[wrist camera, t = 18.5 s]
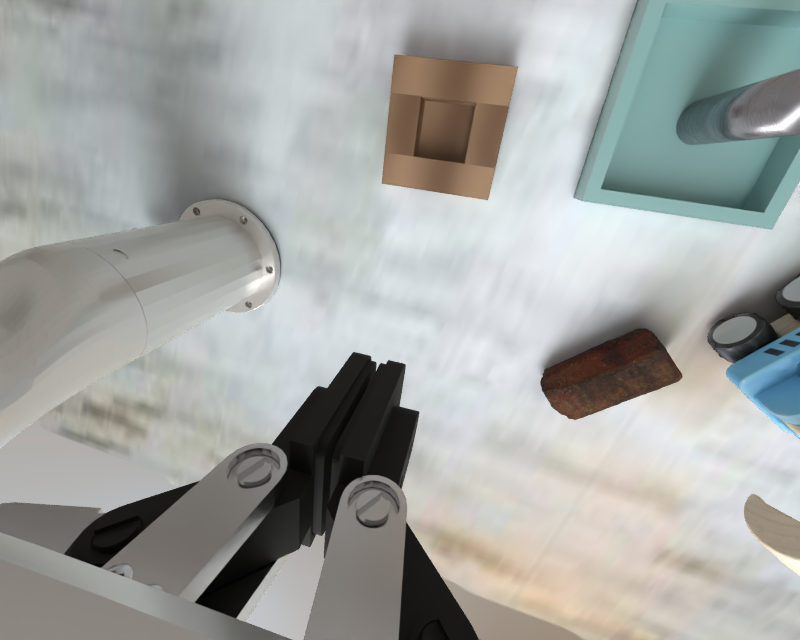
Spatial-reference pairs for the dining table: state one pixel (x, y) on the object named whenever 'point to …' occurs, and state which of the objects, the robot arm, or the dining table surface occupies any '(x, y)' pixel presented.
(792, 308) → the toy excavator
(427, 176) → the wooden square frame
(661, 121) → the tray
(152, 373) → the dining table surface
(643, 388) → the brick
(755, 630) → the dining table surface
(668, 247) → the dining table surface
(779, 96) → the pin
